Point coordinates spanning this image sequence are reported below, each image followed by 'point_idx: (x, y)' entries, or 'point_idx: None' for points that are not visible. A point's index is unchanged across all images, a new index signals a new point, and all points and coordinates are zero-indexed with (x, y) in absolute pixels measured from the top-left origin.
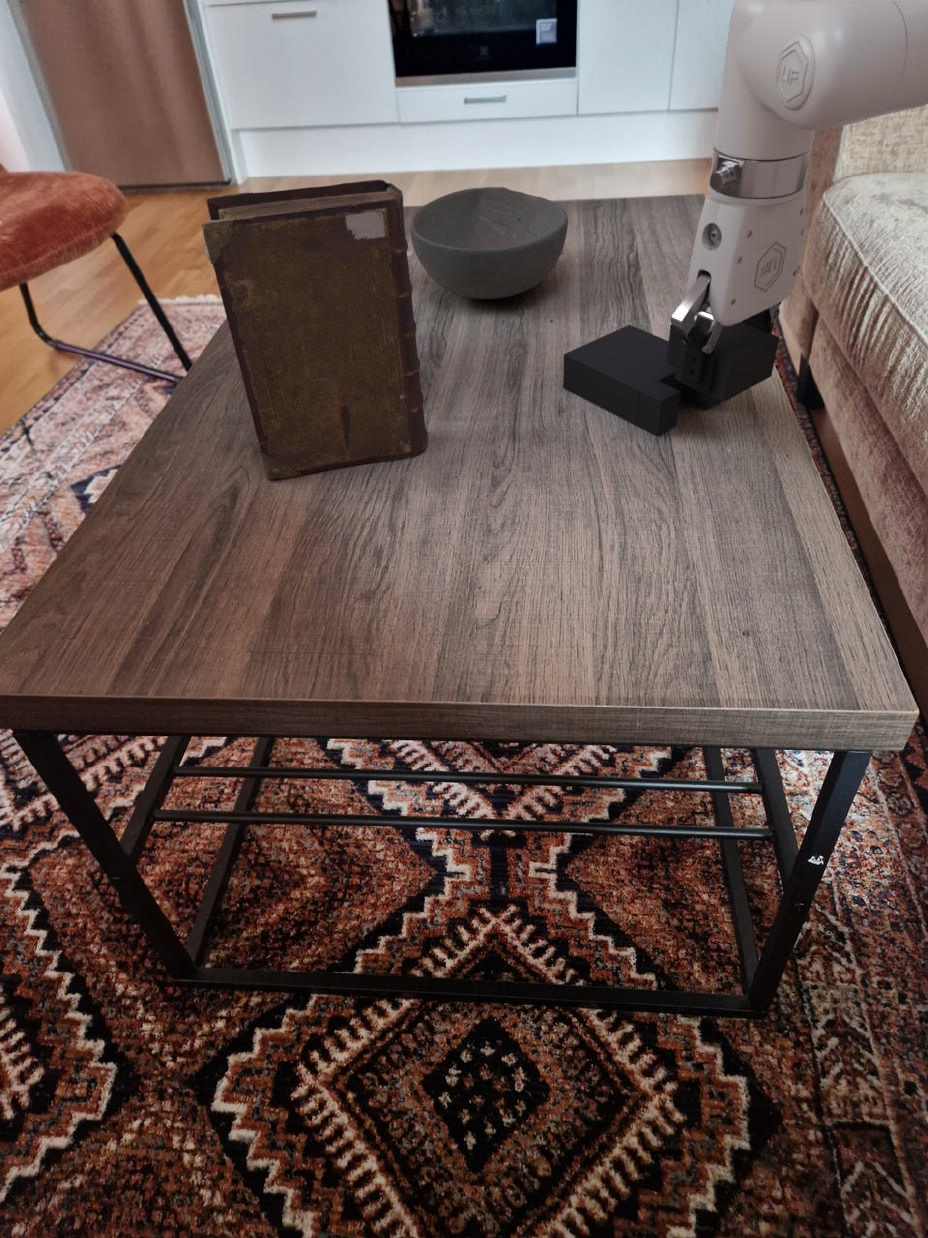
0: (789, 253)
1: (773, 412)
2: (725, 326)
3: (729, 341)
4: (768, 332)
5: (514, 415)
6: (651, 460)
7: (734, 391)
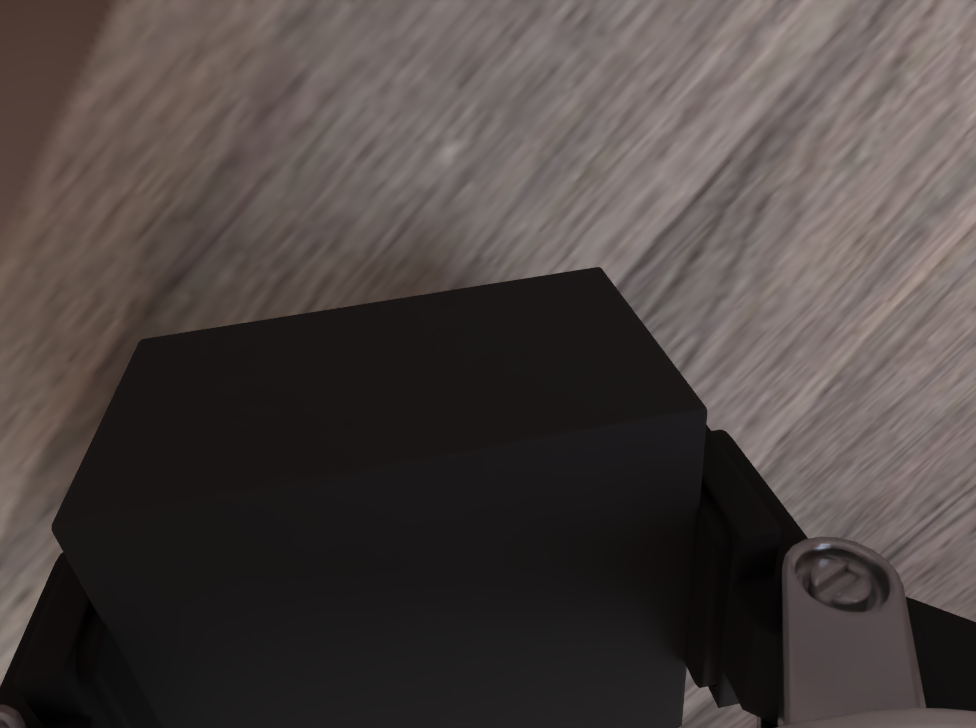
0: None
1: (55, 276)
2: None
3: (458, 623)
4: (83, 616)
5: None
6: (727, 271)
7: (521, 293)
